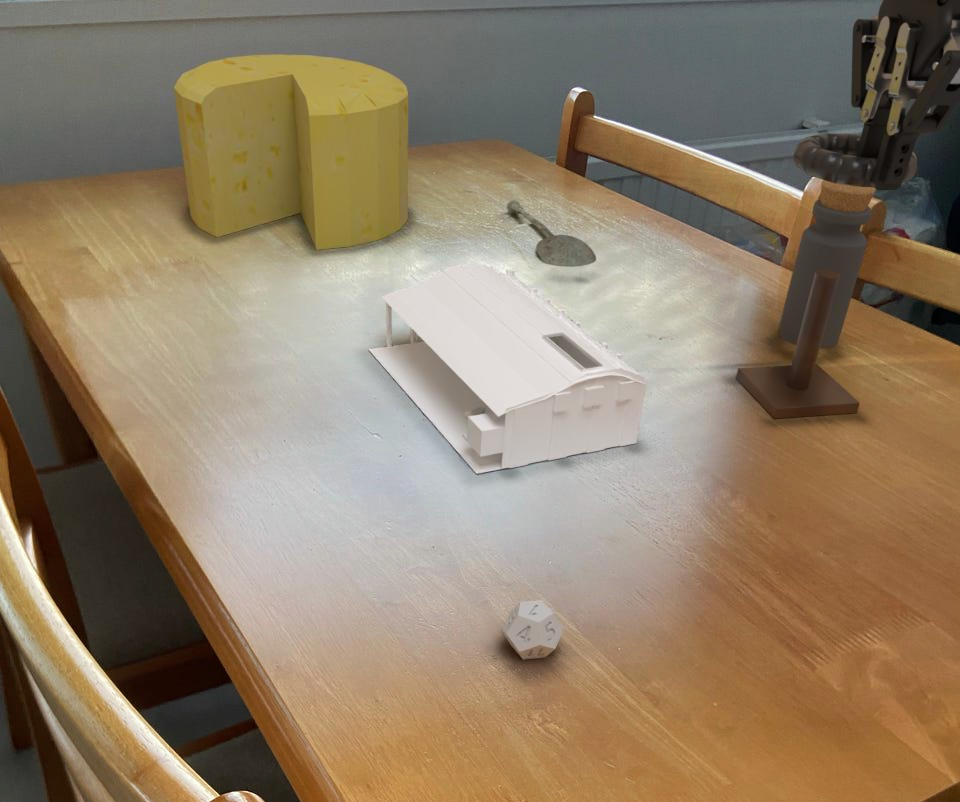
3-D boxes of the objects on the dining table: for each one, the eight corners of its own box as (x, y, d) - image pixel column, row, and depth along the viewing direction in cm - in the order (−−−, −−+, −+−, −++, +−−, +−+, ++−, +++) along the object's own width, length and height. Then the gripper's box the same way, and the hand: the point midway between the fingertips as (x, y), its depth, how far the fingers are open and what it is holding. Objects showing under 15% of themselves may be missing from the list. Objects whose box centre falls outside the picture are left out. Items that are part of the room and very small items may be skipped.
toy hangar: (365, 346, 94) (363, 272, 90) (505, 326, 99) (510, 255, 95) (478, 477, 77) (483, 393, 73) (640, 444, 82) (654, 364, 78)
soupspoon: (546, 284, 110) (601, 284, 112) (551, 253, 108) (607, 253, 110) (488, 213, 126) (537, 213, 127) (491, 184, 123) (541, 185, 125)
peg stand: (814, 373, 94) (847, 254, 87) (856, 413, 89) (896, 289, 82) (735, 378, 93) (763, 257, 86) (774, 419, 87) (806, 293, 80)
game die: (568, 640, 63) (573, 602, 61) (545, 675, 60) (550, 637, 58) (516, 623, 64) (519, 585, 62) (491, 657, 61) (494, 618, 59)
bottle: (764, 335, 101) (802, 176, 91) (814, 330, 102) (857, 174, 93) (795, 360, 97) (839, 196, 87) (847, 354, 98) (896, 193, 88)
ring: (875, 156, 84) (882, 130, 82) (935, 189, 77) (943, 161, 75) (772, 157, 82) (778, 130, 81) (824, 191, 75) (831, 162, 74)
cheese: (243, 264, 109) (227, 110, 99) (159, 195, 125) (138, 58, 115) (448, 230, 120) (452, 90, 111) (347, 171, 137) (342, 45, 127)
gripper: (1075, -86, 61) (971, 211, 72) (945, -105, 71) (872, 157, 82) (966, -91, 60) (877, 213, 71) (850, -110, 70) (788, 158, 81)
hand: (875, 182), depth 76 cm, fingers closed on ring, 2 cm apart
